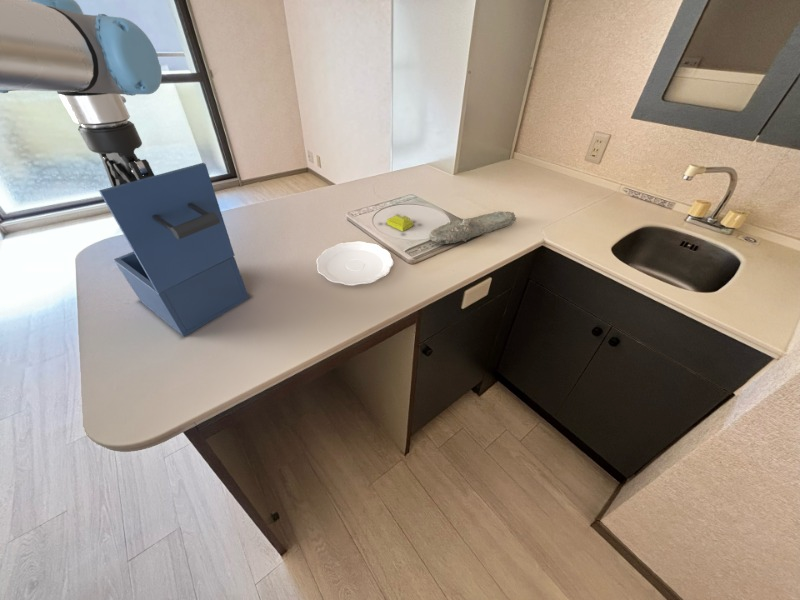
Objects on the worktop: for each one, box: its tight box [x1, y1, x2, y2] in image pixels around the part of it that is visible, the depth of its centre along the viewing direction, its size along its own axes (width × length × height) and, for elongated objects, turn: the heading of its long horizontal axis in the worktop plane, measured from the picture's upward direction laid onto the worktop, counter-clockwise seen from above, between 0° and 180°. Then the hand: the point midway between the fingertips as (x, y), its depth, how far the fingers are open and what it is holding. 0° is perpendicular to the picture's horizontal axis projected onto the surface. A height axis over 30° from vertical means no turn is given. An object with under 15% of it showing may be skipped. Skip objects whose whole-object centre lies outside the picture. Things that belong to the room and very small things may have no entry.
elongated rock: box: [429, 210, 517, 245], centre depth 106 cm, size 35×5×10 cm
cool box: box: [112, 251, 250, 338], centre depth 74 cm, size 19×16×12 cm
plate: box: [315, 240, 394, 286], centre depth 90 cm, size 21×21×2 cm
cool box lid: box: [98, 162, 235, 293], centre depth 58 cm, size 20×16×9 cm
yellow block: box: [386, 214, 414, 232], centre depth 109 cm, size 10×9×3 cm
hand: (162, 237), depth 67 cm, fingers open, 13 cm apart
